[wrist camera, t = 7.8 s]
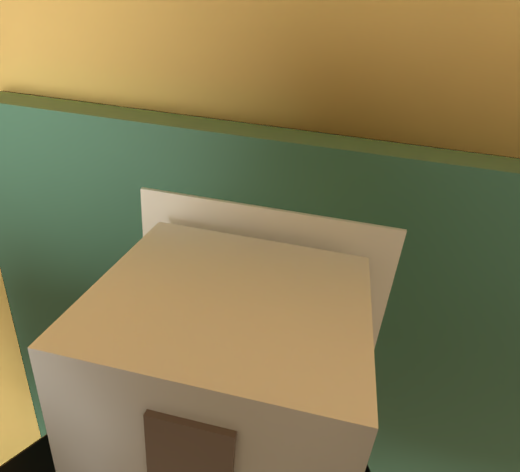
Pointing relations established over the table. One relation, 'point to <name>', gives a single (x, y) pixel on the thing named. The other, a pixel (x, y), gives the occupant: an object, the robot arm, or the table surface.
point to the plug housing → (213, 360)
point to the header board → (296, 233)
